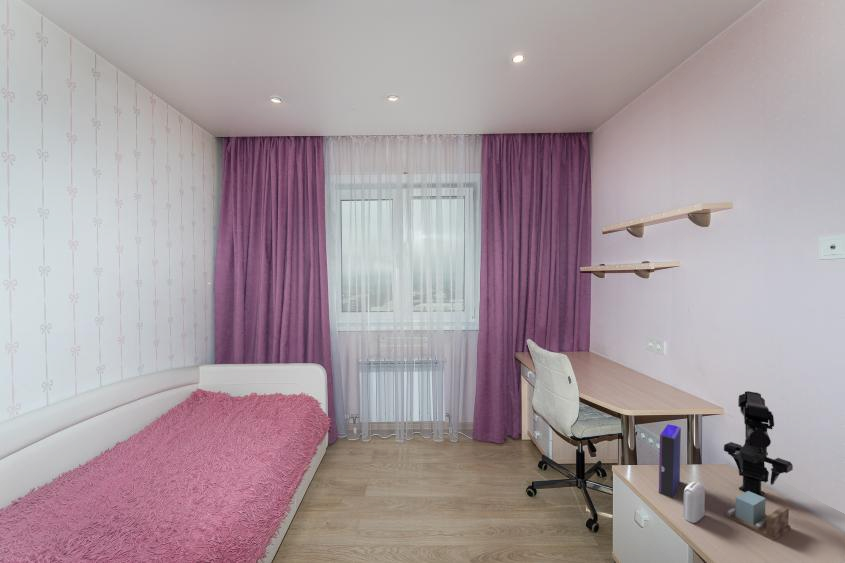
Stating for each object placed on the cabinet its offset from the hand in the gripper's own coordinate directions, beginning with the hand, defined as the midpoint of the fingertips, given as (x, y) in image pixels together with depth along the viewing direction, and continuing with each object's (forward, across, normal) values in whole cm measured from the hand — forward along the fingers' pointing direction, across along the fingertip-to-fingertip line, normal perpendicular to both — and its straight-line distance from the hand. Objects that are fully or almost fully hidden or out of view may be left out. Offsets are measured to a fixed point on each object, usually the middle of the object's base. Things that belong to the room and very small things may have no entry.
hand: (755, 478), depth 135 cm
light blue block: (+11, +2, -10) cm, 15 cm away
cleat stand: (+12, +4, -10) cm, 16 cm away
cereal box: (+12, -23, -15) cm, 30 cm away
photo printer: (+12, -8, -28) cm, 31 cm away
